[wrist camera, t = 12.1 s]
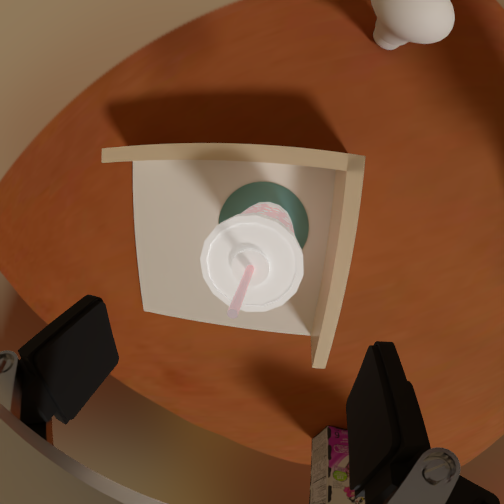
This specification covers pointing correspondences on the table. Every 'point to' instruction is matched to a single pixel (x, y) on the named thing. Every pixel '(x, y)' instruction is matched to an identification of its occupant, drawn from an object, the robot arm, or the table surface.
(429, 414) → the table surface
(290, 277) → the beverage cup
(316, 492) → the candy bar box
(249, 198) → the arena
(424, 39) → the lightbulb
